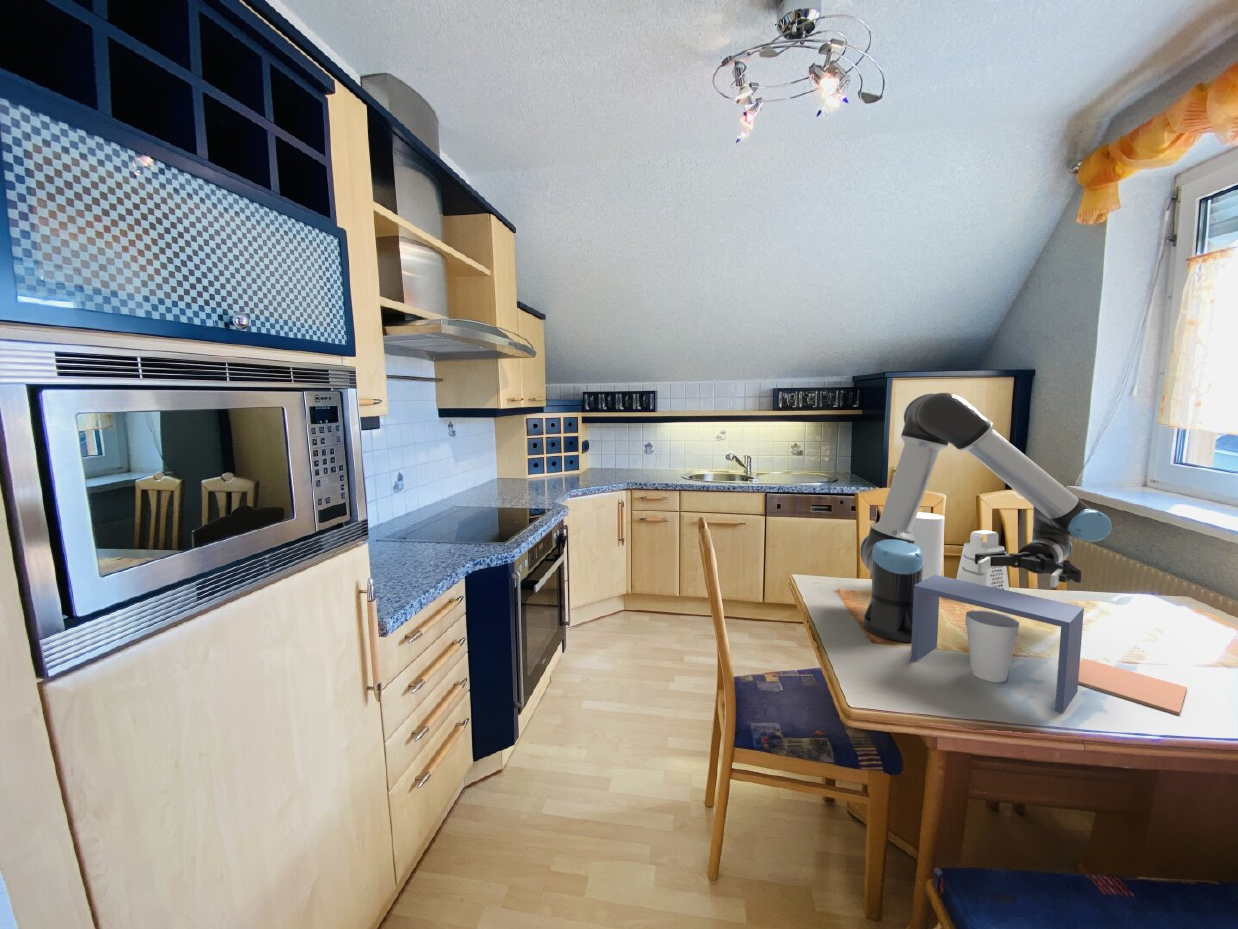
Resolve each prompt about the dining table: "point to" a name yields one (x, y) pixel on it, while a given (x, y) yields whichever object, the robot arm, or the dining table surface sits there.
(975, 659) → the foam cup
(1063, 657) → the rectangular arch
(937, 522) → the tall pillar cylinder
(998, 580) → the grater
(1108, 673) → the mat
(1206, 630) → the dining table surface
